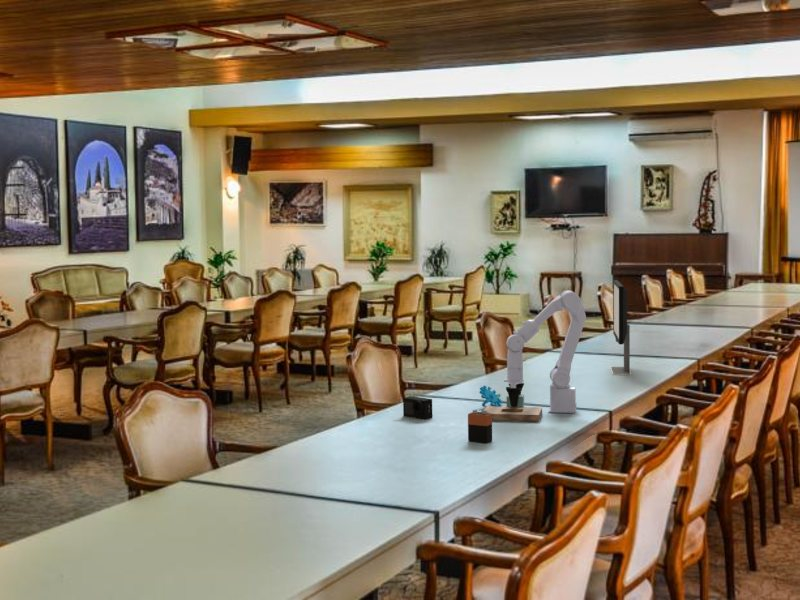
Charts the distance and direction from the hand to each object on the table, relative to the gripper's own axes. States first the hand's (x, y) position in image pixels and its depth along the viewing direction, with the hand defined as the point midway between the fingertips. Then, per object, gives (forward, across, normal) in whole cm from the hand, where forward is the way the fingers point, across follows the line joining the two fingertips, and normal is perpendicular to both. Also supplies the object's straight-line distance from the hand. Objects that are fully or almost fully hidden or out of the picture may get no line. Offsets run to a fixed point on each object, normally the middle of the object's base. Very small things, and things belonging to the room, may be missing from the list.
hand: (515, 404), depth 385 cm
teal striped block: (+3, 0, 0) cm, 3 cm away
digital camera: (+3, +15, -34) cm, 37 cm away
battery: (+3, +51, -6) cm, 51 cm away
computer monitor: (+2, -101, +37) cm, 108 cm away
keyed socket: (+3, +11, 0) cm, 11 cm away
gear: (+3, -10, -10) cm, 15 cm away
